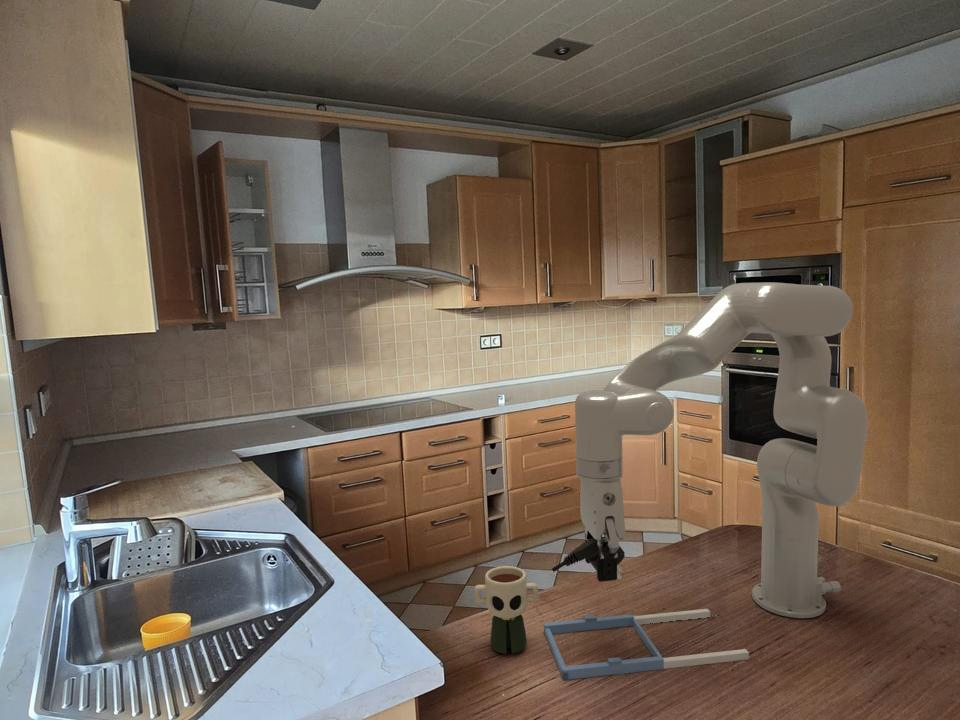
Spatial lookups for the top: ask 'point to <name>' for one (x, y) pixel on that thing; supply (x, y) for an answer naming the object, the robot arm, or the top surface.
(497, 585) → the character mug
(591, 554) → the power plug
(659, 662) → the blue cream pronged frame
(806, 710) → the top surface
